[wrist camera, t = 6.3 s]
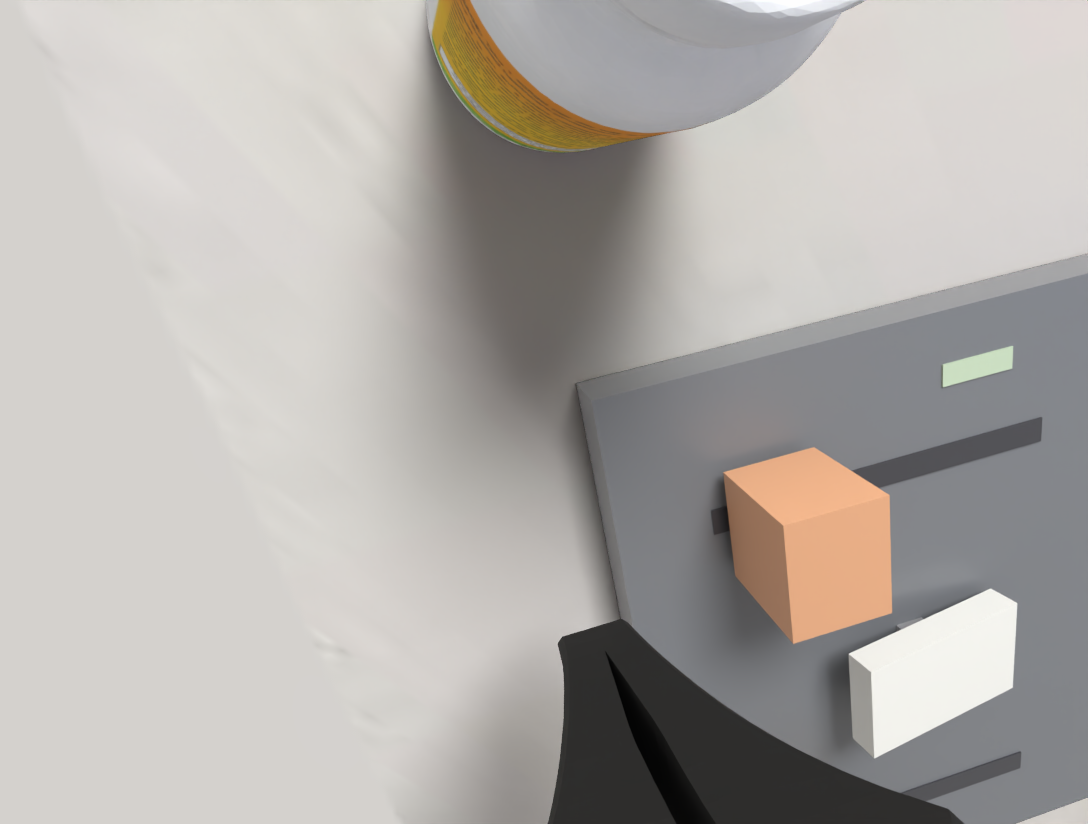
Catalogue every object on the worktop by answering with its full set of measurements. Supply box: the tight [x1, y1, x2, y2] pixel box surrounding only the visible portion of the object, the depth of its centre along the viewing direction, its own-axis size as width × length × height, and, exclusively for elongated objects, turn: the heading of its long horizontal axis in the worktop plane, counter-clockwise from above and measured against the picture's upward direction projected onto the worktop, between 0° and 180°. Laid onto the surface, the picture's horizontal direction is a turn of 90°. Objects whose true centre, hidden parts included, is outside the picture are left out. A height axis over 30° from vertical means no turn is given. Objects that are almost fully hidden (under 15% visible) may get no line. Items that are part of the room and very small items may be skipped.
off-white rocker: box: [849, 589, 1017, 759], centre depth 19 cm, size 5×3×1 cm, turn 102°
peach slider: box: [723, 447, 892, 644], centre depth 16 cm, size 2×3×3 cm
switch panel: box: [576, 254, 1088, 824], centre depth 20 cm, size 16×19×2 cm
